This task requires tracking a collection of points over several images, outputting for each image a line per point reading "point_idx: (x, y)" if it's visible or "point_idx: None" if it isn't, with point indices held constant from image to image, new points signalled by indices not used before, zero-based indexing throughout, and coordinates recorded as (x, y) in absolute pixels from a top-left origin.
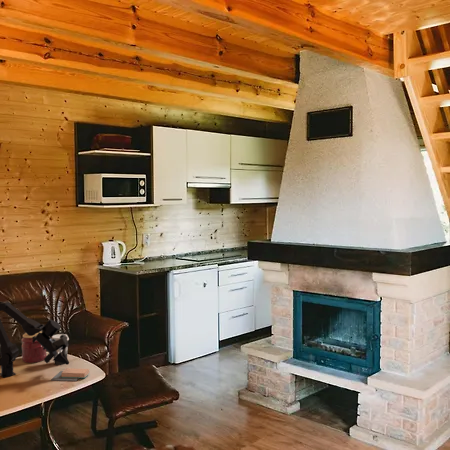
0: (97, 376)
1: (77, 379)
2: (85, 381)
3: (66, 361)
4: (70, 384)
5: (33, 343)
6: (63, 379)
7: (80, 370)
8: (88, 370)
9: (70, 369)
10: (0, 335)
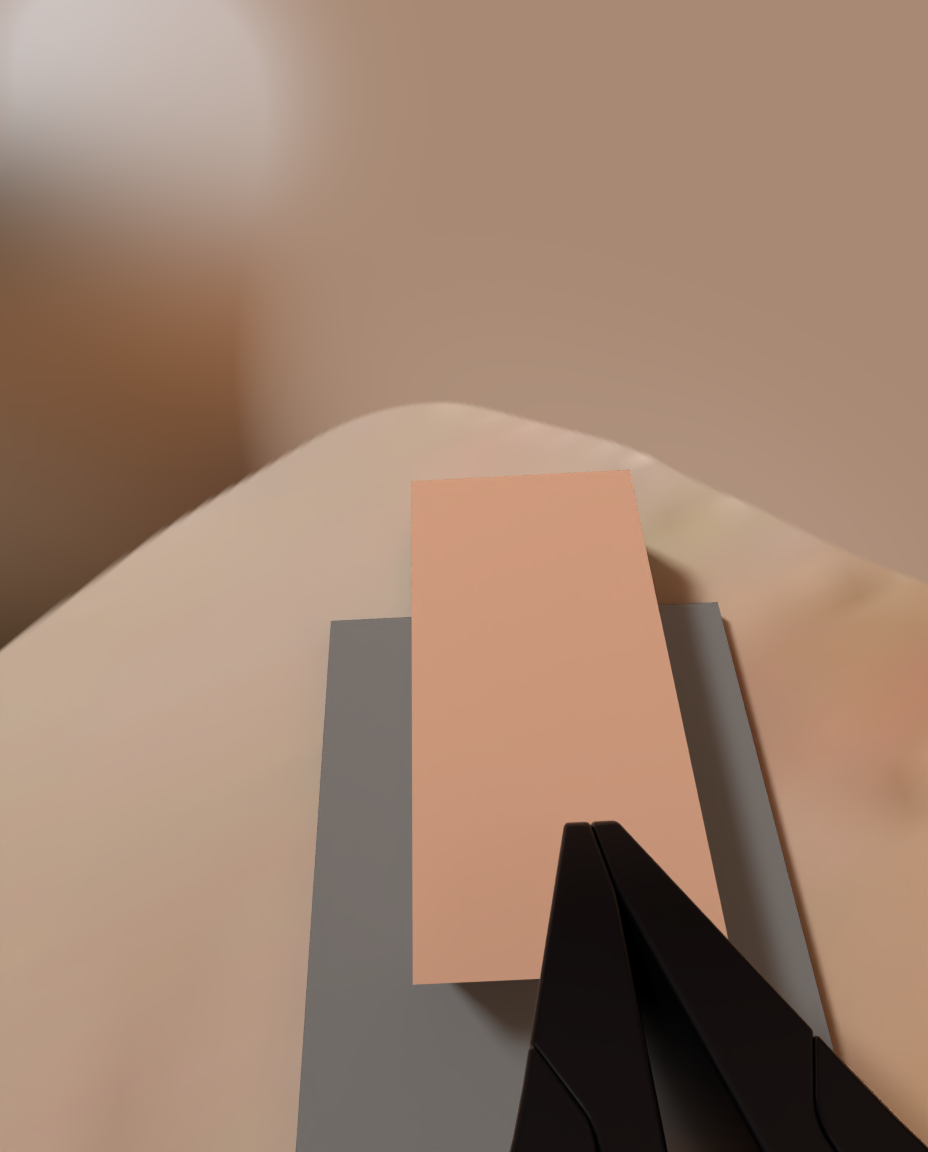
0: (471, 417)
1: (659, 608)
2: (673, 487)
3: (685, 905)
4: (853, 640)
5: None
6: (769, 843)
7: (511, 586)
8: (443, 489)
9: (482, 827)
10: None
